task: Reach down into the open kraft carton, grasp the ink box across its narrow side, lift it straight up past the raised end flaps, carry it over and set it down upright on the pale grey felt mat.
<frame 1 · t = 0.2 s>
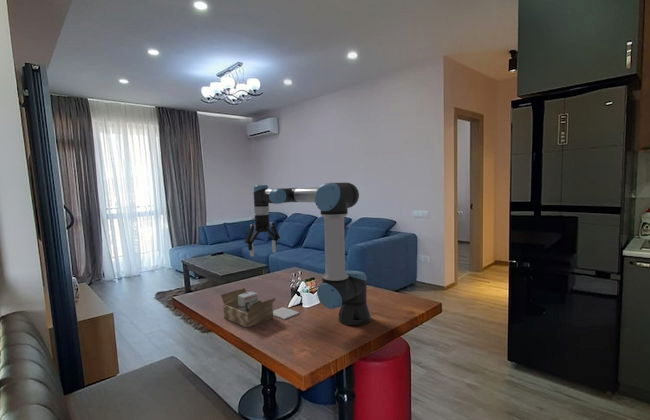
hand: (263, 254, 180), 28 cm above the table, fingers open, 13 cm apart
carton: (248, 317, 166), on the table
felt mat: (283, 313, 170), on the table
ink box: (248, 318, 166), resting in carton
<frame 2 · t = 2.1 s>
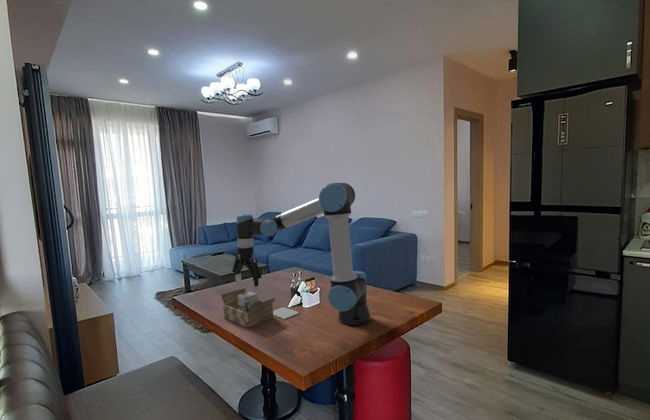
hand: (246, 289, 165), 14 cm above the table, fingers open, 13 cm apart
nothing on the table moved.
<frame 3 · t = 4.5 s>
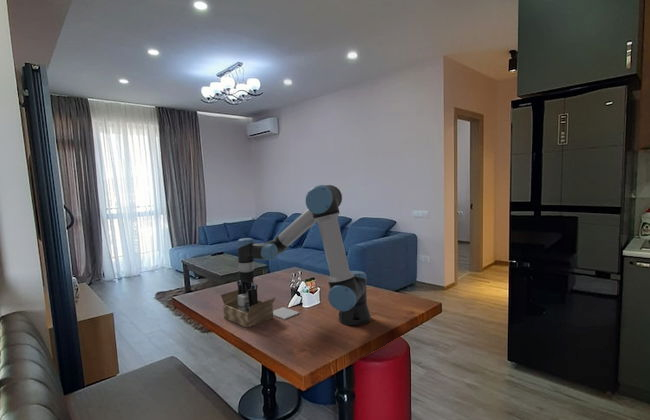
hand: (248, 316, 166), 0 cm above the table, fingers closed on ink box, 5 cm apart
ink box: (248, 318, 166), resting in carton, touching gripper
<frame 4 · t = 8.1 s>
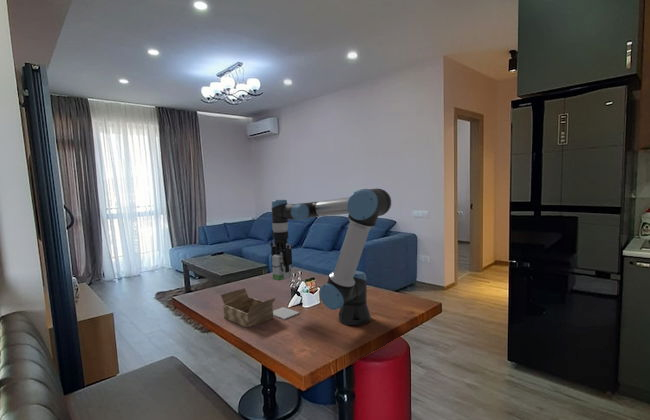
hand: (282, 277, 168), 18 cm above the table, fingers closed on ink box, 5 cm apart
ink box: (282, 278, 169), point 18 cm above the table, touching gripper
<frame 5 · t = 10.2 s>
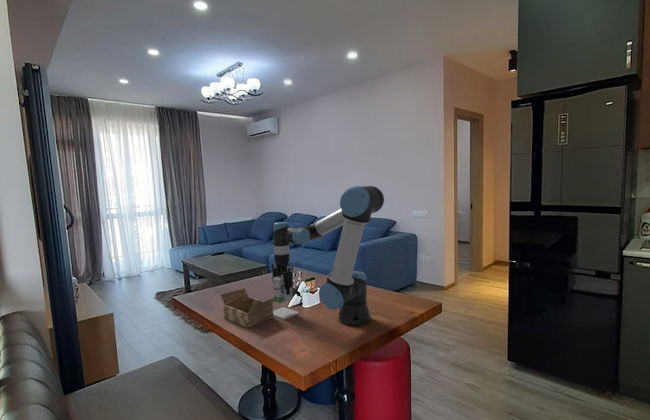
hand: (283, 299, 170), 7 cm above the table, fingers closed on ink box, 5 cm apart
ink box: (283, 300, 170), point 7 cm above the table, touching gripper
when the fingers open (2 cm above the table, at t = 12.0 s): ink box stays where it is, resting on felt mat.
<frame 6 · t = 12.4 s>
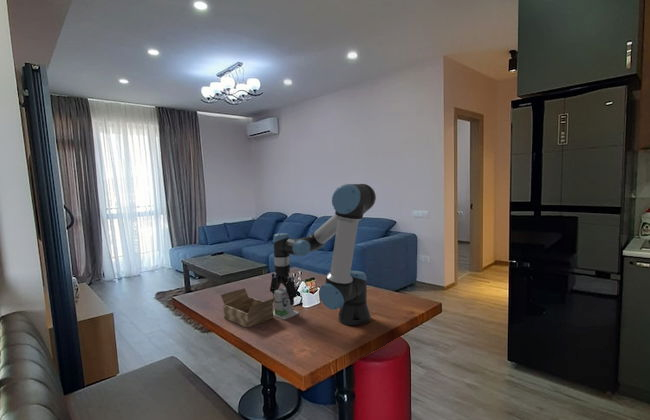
hand: (283, 308, 170), 3 cm above the table, fingers open, 10 cm apart
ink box: (284, 313, 170), resting on felt mat
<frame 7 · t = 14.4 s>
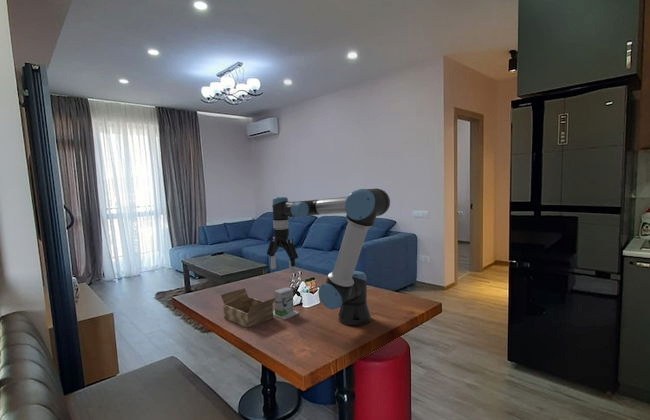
hand: (282, 270, 170), 22 cm above the table, fingers open, 13 cm apart
nothing on the table moved.
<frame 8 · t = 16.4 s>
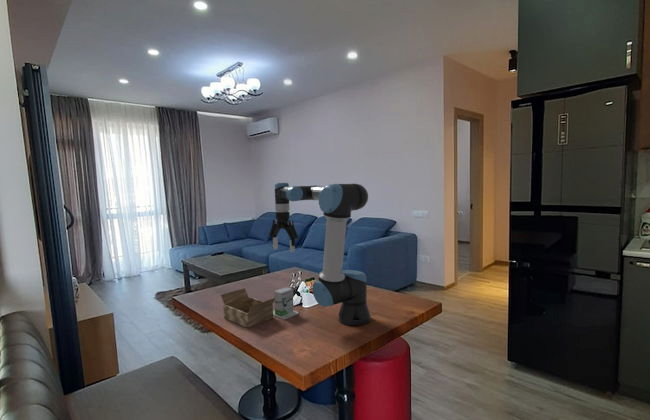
hand: (283, 250, 185), 29 cm above the table, fingers open, 13 cm apart
nothing on the table moved.
at the end: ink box inside the target area (0.5 cm from its centre), resting on felt mat; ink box tilted 0°; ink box touching felt mat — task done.
